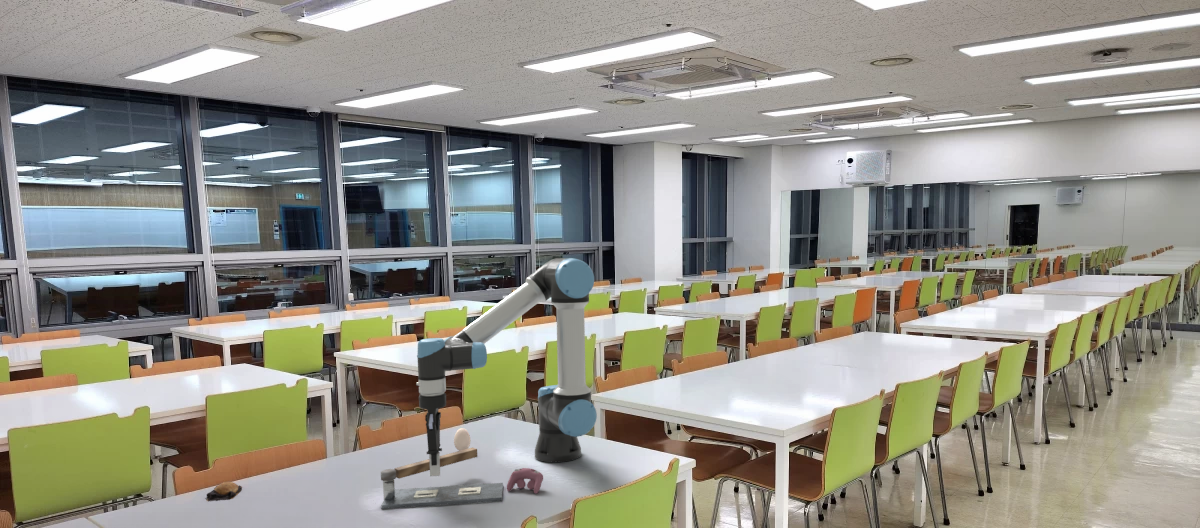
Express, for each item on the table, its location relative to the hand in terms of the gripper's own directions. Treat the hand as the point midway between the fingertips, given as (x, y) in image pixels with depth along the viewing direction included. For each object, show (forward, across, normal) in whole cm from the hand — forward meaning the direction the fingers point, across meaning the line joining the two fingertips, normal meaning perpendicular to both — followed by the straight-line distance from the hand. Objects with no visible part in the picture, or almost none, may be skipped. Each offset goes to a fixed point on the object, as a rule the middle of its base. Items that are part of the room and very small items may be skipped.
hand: (435, 475), depth 207 cm
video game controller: (+5, +4, +26) cm, 26 cm away
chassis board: (+5, +5, +3) cm, 8 cm away
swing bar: (-1, -3, -1) cm, 3 cm away
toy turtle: (+6, -9, -61) cm, 62 cm away
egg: (+4, -38, +4) cm, 38 cm away
